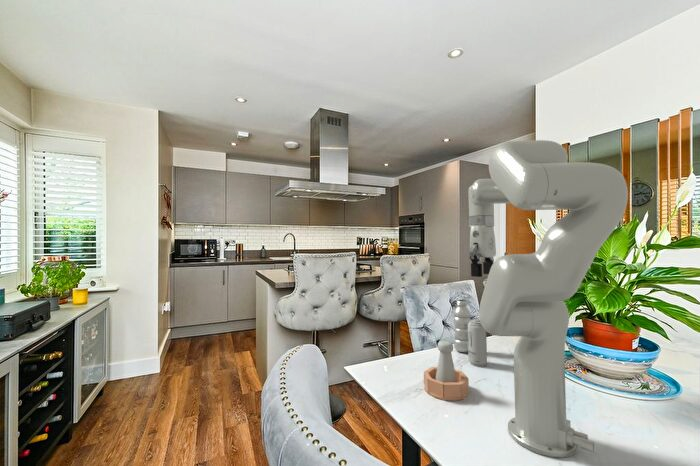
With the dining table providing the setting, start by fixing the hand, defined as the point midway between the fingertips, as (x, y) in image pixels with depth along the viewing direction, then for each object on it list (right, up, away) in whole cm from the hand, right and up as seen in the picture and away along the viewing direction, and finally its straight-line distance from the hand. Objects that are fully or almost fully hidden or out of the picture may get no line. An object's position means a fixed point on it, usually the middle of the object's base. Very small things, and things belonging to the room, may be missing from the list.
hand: (482, 275), depth 96 cm
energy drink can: (+2, -33, +9) cm, 34 cm away
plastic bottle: (+2, -33, +21) cm, 40 cm away
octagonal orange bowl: (-15, -32, -9) cm, 37 cm away
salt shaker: (-15, -32, -9) cm, 36 cm away
